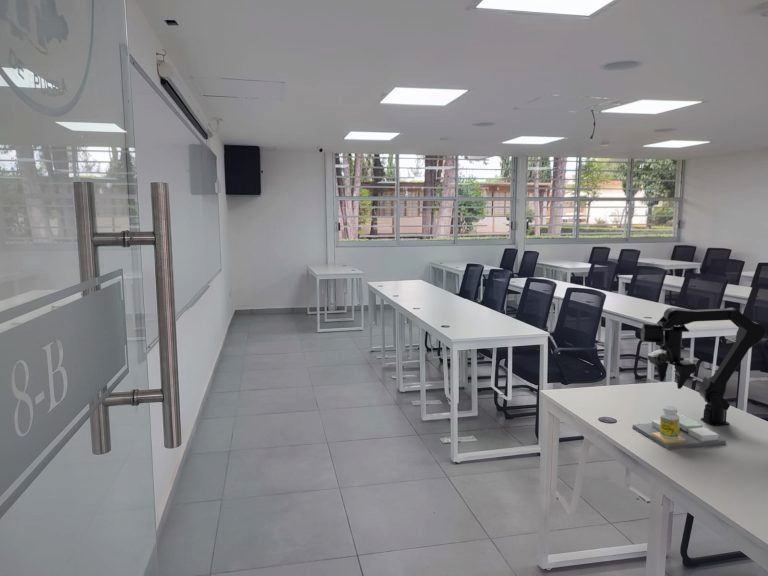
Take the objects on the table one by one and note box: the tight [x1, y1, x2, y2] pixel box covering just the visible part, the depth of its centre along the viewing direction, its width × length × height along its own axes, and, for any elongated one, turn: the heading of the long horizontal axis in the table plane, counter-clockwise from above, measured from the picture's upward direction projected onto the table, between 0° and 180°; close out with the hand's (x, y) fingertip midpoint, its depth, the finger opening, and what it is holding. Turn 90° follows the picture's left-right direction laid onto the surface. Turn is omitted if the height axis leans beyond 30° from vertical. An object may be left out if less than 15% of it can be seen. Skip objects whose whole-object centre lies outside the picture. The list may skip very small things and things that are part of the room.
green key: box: [676, 412, 703, 432], centre depth 183 cm, size 6×12×3 cm, turn 9°
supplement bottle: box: [660, 405, 679, 439], centre depth 172 cm, size 5×5×10 cm
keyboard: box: [632, 419, 727, 450], centre depth 178 cm, size 21×18×3 cm
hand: (670, 384), depth 191 cm, fingers open, 9 cm apart
